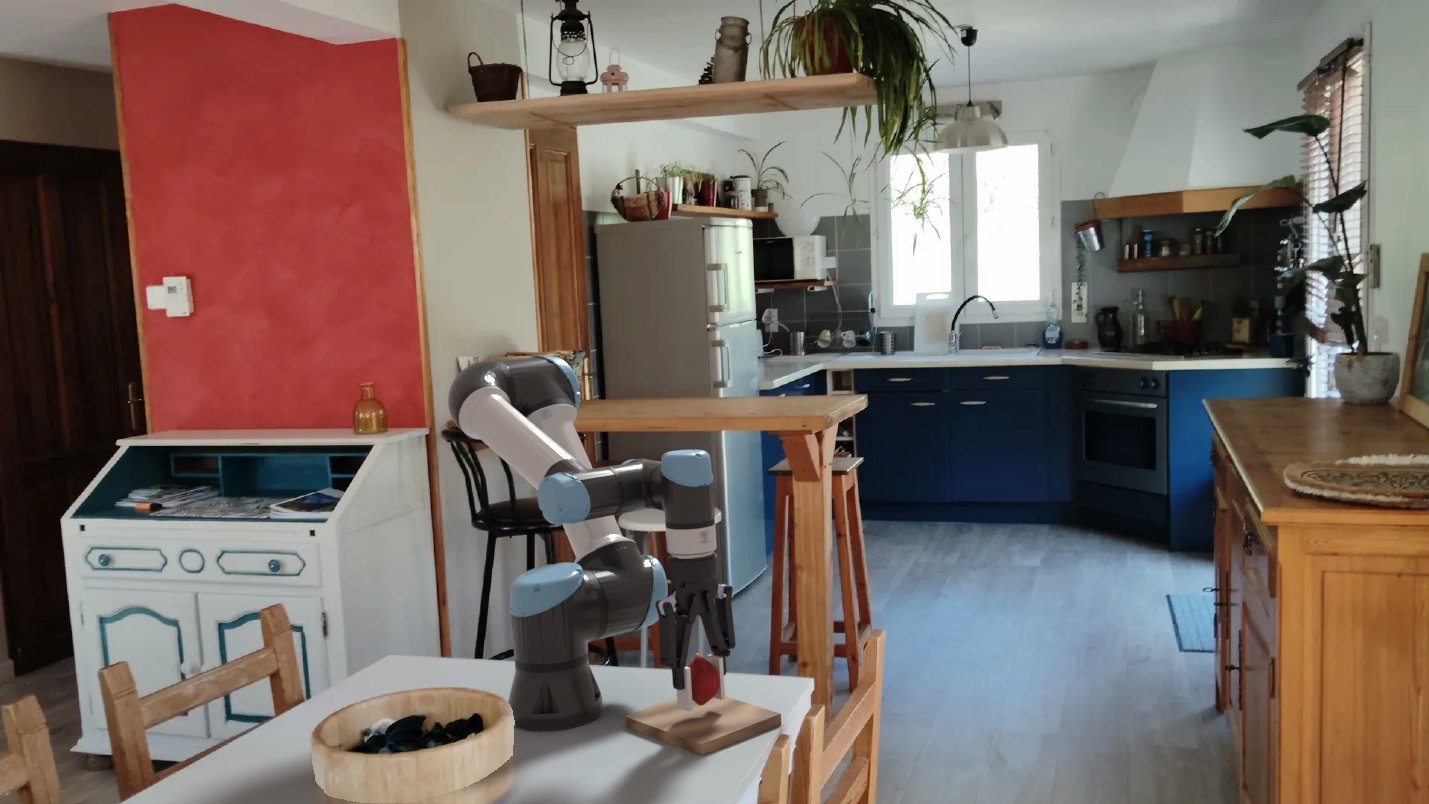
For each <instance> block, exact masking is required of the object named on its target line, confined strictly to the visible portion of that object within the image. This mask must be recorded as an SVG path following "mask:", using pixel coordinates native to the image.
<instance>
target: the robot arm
mask: <svg viewBox="0 0 1429 804" xmlns="http://www.w3.org/2000/svg"><path fill="white" fill-rule="evenodd" d="M579 389H580V383H579V380H578V378H577V375H576V373H575V371H574V370H573V368H572V367H571V366H570V364H568V363H567V361H565V360H563V358H561V357H557V356H553V355H549V356H548V355H547V356H546V355H545V356H544V355H540V354H539V355H533V356H532V355H531V356H529V357H520V358H519V357H518V358H506V359H505V358H504V359H493V360H492V359H490V360H489V359H486V360H480V361H478V362H475V363H472V364H470V365H468V366H466V367H464V368H463V369H462V370H461V371H460V372H459V373H458V375H456V377H455V378H454V379H453V382H452V383H451V385H450V388H449V391H448V395H447V406H448V410H449V414H450V417H451V418H452V420H453V421H452V422H454V424H455V426H457V427H458V428H459V429H460V430H461V431H462V432H463V433H464V434H465V435H466V436H467V437H469V438H472V439H474V440H481V441H482V442H483V443H484V444H485V445H486V446H488V447H489V448H490V450H492V451H493V452H494V453H495V454H496V455H497V456H498V457H500V458H501V460H503V461H505V462H506V464H508V465H509V466H510V467H511V468H512V469H513V470H514V471H515V472H516V473H518V474H519V475H520V477H522V478H523V479H524V480H525V481H526V482H527V483H529V484H530V485H532V487H533V488H534V489H535V490H536V491H537V504H538V507H539V510H540V511H541V512H542V517H543V518H544V519H545V520H546V521H547V522H548V523H549V524H552V525H562V526H563V529H564V531H565V534H566V536H567V538H568V541H569V544H570V546H571V548H572V550H573V552H574V553H573V554H574V556H575V560H574V562H568V561H567V562H566V561H565V562H557V563H554V564H551V563H550V564H546V565H545V564H544V565H541V566H537V567H534V568H532V569H529V570H527V571H525V572H523V573H521V574H519V575H518V576H517V577H515V579H514V581H512V583H511V586H510V589H509V590H510V592H509V593H510V595H509V596H510V597H509V599H510V600H509V612H510V617H511V630H512V631H511V632H512V643H513V644H512V645H513V656H514V668H515V670H514V676H513V680H512V684H511V688H510V692H509V696H508V701H507V703H509V704H510V706H511V708H512V710H513V716H514V720H515V725H516V727H515V728H518V729H521V730H526V731H527V730H528V731H536V732H538V731H540V732H541V731H542V732H543V731H558V730H559V731H560V730H564V729H571V728H575V727H579V726H582V725H584V724H587V723H589V722H592V721H593V720H596V719H597V718H598V717H600V716H601V715H602V714H603V712H604V703H603V696H602V692H601V689H600V688H599V685H598V682H597V680H596V678H595V675H594V673H593V670H592V667H591V666H590V660H589V647H588V646H589V645H588V644H589V642H592V641H593V642H594V641H598V640H601V639H606V638H610V637H613V636H617V635H621V634H625V633H630V632H637V631H640V630H641V629H643V628H646V627H649V626H652V625H654V624H656V623H657V622H658V631H659V632H658V635H659V637H658V638H659V639H658V640H659V647H658V648H659V664H660V665H662V666H665V667H667V668H670V669H671V677H672V678H671V679H672V680H671V681H672V686H673V689H675V690H676V698H677V707H678V708H680V709H683V710H686V711H689V712H690V711H692V710H693V703H692V687H691V671H690V668H689V667H687V659H688V655H689V654H688V653H689V646H690V640H691V636H692V630H693V629H692V628H693V625H694V624H695V622H696V618H697V616H699V618H700V620H701V623H702V626H703V630H704V633H705V635H706V639H707V642H708V644H709V649H710V651H711V653H712V654H711V653H710V654H707V661H709V662H710V663H711V664H712V665H713V666H714V667H715V668H716V670H717V671H718V674H719V677H720V687H719V689H718V691H717V693H716V694H715V696H714V697H713V698H716V699H720V700H723V699H725V696H726V689H725V676H726V675H727V660H726V658H728V657H730V656H731V650H734V649H735V648H736V637H735V627H734V617H733V616H734V615H733V607H732V598H733V592H734V588H733V586H732V585H728V584H724V583H718V581H717V578H718V575H719V563H718V562H719V561H718V554H717V553H716V552H715V551H716V549H717V533H716V519H715V518H716V514H715V513H716V512H715V496H714V479H715V478H714V475H713V469H712V460H711V456H710V453H708V452H707V451H706V450H704V449H703V450H702V449H680V450H671V451H667V452H665V453H663V454H662V455H661V459H660V460H661V461H660V460H659V461H658V460H651V459H648V458H638V459H633V458H632V459H628V460H626V461H624V462H622V463H621V464H617V465H616V464H615V465H609V466H602V467H596V468H593V467H592V463H591V461H590V459H589V457H588V455H587V452H586V450H585V447H584V445H583V444H582V441H581V439H580V436H579V434H578V432H577V429H576V427H575V425H574V423H575V421H576V419H577V417H578V410H579V408H580V407H579V406H580V403H581V402H580V401H581V393H580V392H579ZM645 510H655V511H656V510H657V511H662V512H664V519H665V520H664V525H665V542H666V552H667V553H669V554H670V555H668V556H667V572H668V579H669V581H670V582H671V589H670V592H669V596H668V590H669V589H668V580H667V576H666V572H665V570H664V568H663V565H662V563H661V562H660V561H659V560H658V559H657V558H655V557H654V556H653V555H649V554H643V555H642V554H641V552H640V550H639V548H638V545H637V543H636V541H635V540H633V539H631V538H628V537H625V536H623V534H622V532H621V529H620V526H619V525H618V522H617V520H616V518H615V516H617V515H623V514H629V513H634V512H638V511H639V512H641V511H645Z"/></svg>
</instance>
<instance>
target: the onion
mask: <svg viewBox="0 0 1429 804" xmlns="http://www.w3.org/2000/svg"><path fill="white" fill-rule="evenodd" d="M686 667H689V668H690V671H691V687H692V700H693V701H695V702H696V703H697V704H698V705H704V704H705V703H707V702H708V701H709V700H711V699H712V698H713V697H714V696H715V694H716V693H717V691H718V689H719V687H720V677H719V674H718V671H717V670H716V668H715V667H714V666H713V665H712V664H711V663H710V662H709V661H708V659H705V658H704V657H702V655H701V653H699V652H696V653H694V659H693V660H692V661H690V662H689V664H688V665H686Z"/></svg>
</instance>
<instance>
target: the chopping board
mask: <svg viewBox="0 0 1429 804" xmlns="http://www.w3.org/2000/svg"><path fill="white" fill-rule="evenodd" d="M692 703H693V710H692V711H690V712H689V711H686V710H683V709H680V708H678V707H677V697H676V698H673V699H670V700H667V701H665V702H662V703H658V704H656V705H653V706H650V707H646V708H644V709H641V710H638V711H636V712H632V713H629V714H626V715H624V718H623V719H624V727H626V728H629V729H632V730H634V731H636V732H639V733H641V734H644V735H647V736H650V737H652V738H654V739H656V740H657V739H658V740H659V741H660V740H661V741H663V742H666V743H668V744H671V745H674V746H677V747H678V748H682V749H683V750H684V749H685V750H687V751H689V752H692V753H695V754H697V755H700V756H703V755H705V754H708V753H712V752H714V751H716V750H719V749H721V748H723V747H724V748H725V747H726V746H729V745H732V744H733V743H734V744H735V743H737V742H739V741H742V740H744V739H746V738H749V737H752V736H754V735H757V734H759V733H760V734H761V733H762V732H765V731H767V730H769V729H772V728H775V727H777V726H780V725H782V713H780V712H776V711H774V710H770V709H768V708H764V707H760V706H757V705H755V704H752V703H748V702H745V701H741V700H740V699H739V700H738V699H735V698H732V697H729V696H726V695H725V699H723V700H720V699H716V698H712V699H711V700H709V701H708V702H707V703H705V704H704V705H698V704H697V703H696V702H695V701H693V700H692Z"/></svg>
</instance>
